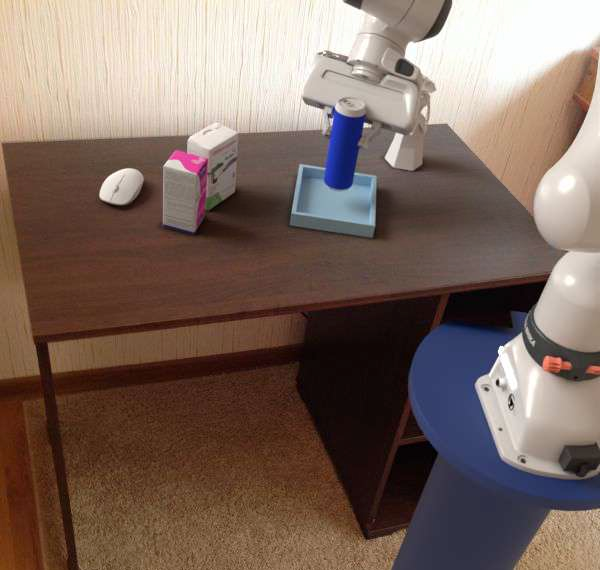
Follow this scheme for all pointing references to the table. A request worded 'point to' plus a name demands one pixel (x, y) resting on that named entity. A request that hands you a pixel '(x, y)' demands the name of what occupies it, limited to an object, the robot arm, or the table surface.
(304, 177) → the tray
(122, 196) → the computer mouse
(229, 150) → the ink box
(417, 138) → the figurine
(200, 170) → the supplement box
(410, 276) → the table surface
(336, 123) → the beverage can
